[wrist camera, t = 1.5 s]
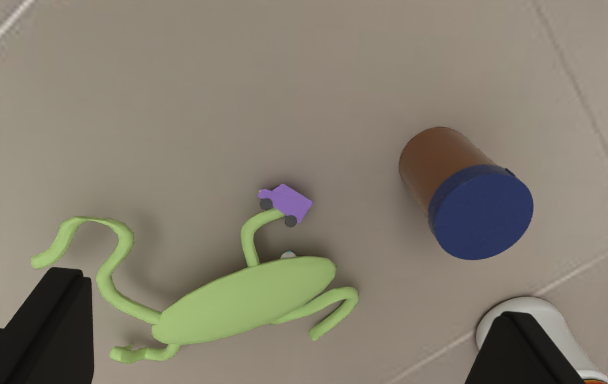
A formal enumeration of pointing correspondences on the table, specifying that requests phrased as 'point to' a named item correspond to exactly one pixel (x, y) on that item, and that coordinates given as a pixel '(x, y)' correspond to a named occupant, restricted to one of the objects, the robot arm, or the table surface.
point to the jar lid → (480, 212)
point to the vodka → (553, 327)
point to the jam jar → (436, 161)
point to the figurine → (224, 286)
